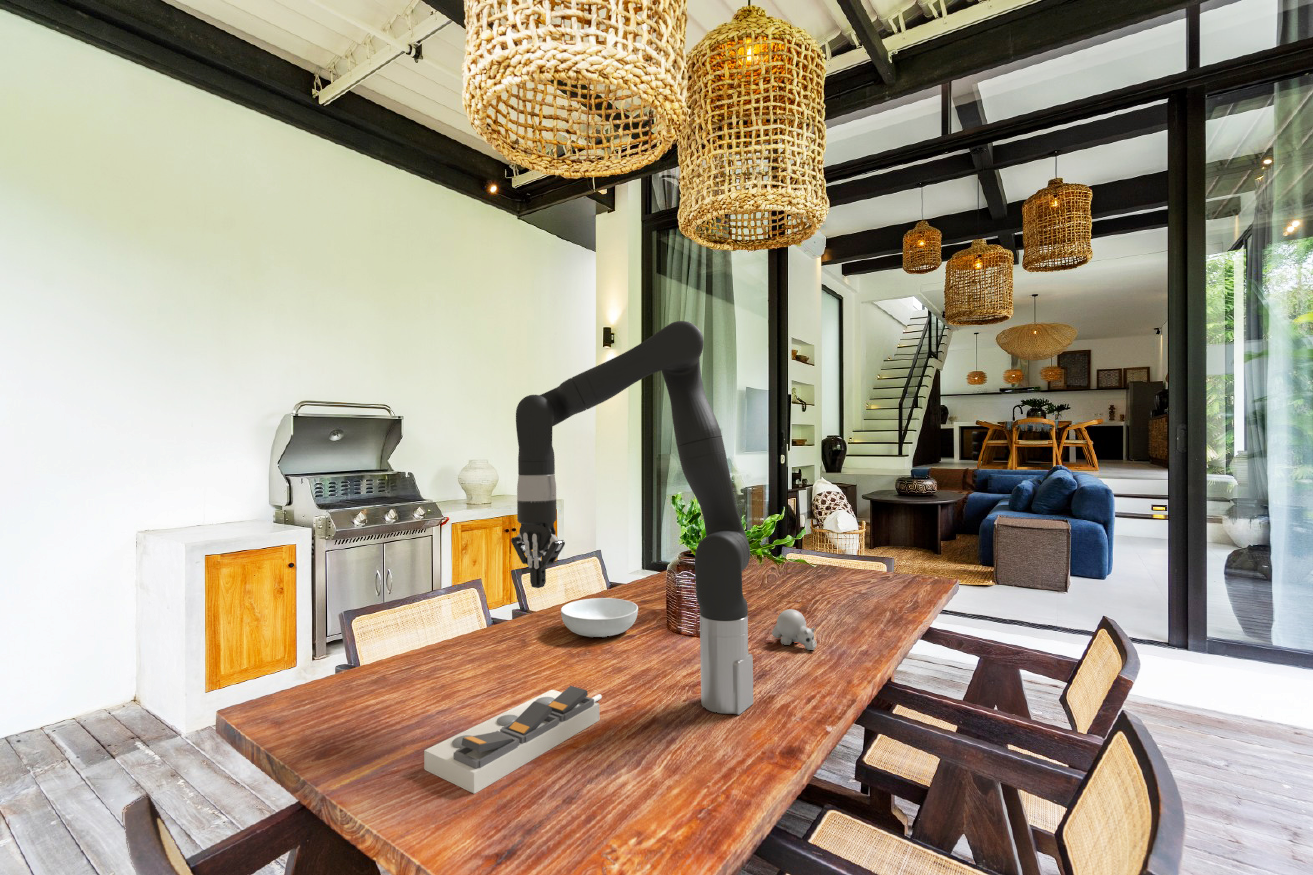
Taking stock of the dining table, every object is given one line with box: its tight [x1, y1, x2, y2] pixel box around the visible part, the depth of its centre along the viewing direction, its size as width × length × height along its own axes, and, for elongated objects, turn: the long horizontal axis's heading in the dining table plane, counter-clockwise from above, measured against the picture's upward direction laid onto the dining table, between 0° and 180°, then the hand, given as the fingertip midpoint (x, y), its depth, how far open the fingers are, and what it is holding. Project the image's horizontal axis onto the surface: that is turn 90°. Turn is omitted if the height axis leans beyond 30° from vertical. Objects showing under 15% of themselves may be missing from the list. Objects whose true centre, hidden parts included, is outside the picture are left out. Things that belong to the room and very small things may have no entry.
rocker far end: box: [462, 732, 512, 752], centre depth 93 cm, size 6×4×1 cm, turn 145°
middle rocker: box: [508, 701, 552, 735], centre depth 100 cm, size 6×4×1 cm, turn 146°
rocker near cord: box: [548, 685, 589, 714], centre depth 108 cm, size 6×4×1 cm, turn 146°
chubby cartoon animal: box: [771, 608, 818, 651], centre depth 149 cm, size 7×12×8 cm, turn 34°
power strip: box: [423, 689, 603, 795], centre depth 105 cm, size 36×12×4 cm, turn 145°
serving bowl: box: [560, 597, 639, 638], centre depth 162 cm, size 21×21×7 cm
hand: (537, 586), depth 117 cm, fingers closed
